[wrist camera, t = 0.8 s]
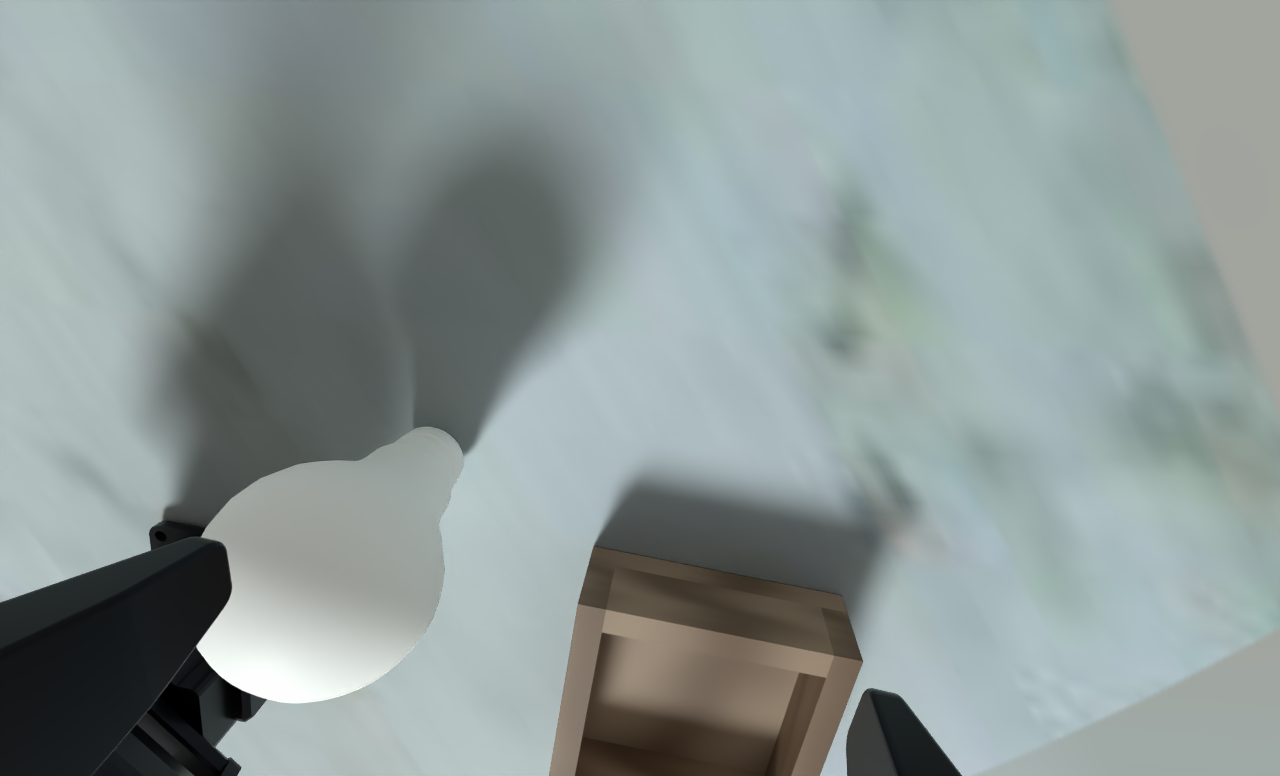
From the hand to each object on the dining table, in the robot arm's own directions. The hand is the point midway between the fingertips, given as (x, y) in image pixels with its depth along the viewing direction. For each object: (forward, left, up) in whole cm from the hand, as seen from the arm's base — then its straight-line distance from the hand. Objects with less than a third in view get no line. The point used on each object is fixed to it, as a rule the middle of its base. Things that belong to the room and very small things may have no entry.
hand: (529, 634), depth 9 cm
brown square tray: (+5, -14, -15) cm, 20 cm away
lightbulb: (-7, -6, -15) cm, 17 cm away
